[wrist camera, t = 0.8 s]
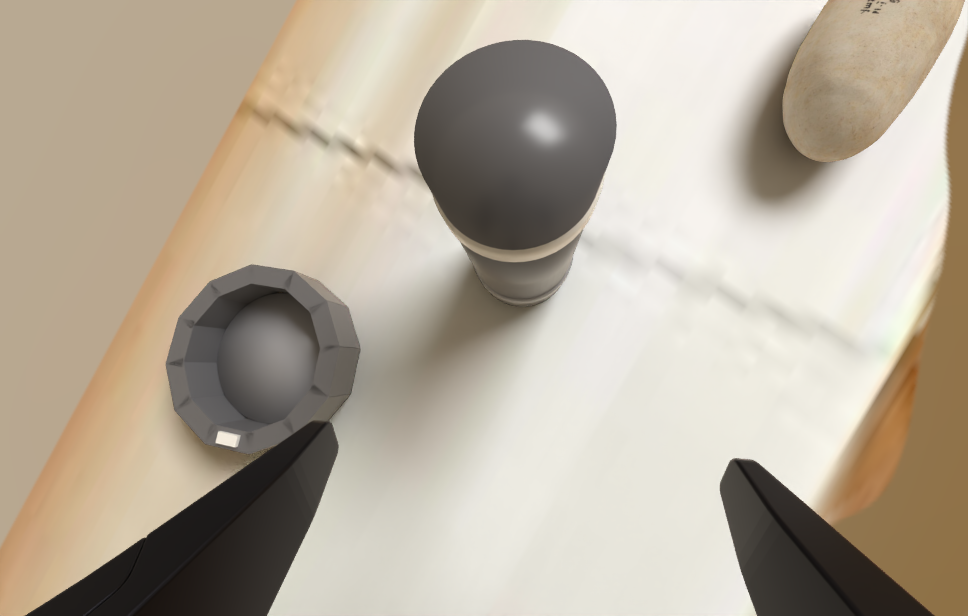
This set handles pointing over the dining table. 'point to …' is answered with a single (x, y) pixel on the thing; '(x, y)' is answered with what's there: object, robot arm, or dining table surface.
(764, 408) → the dining table surface
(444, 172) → the dark grey banded cylinder
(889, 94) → the stone
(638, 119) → the dining table surface
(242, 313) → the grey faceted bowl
